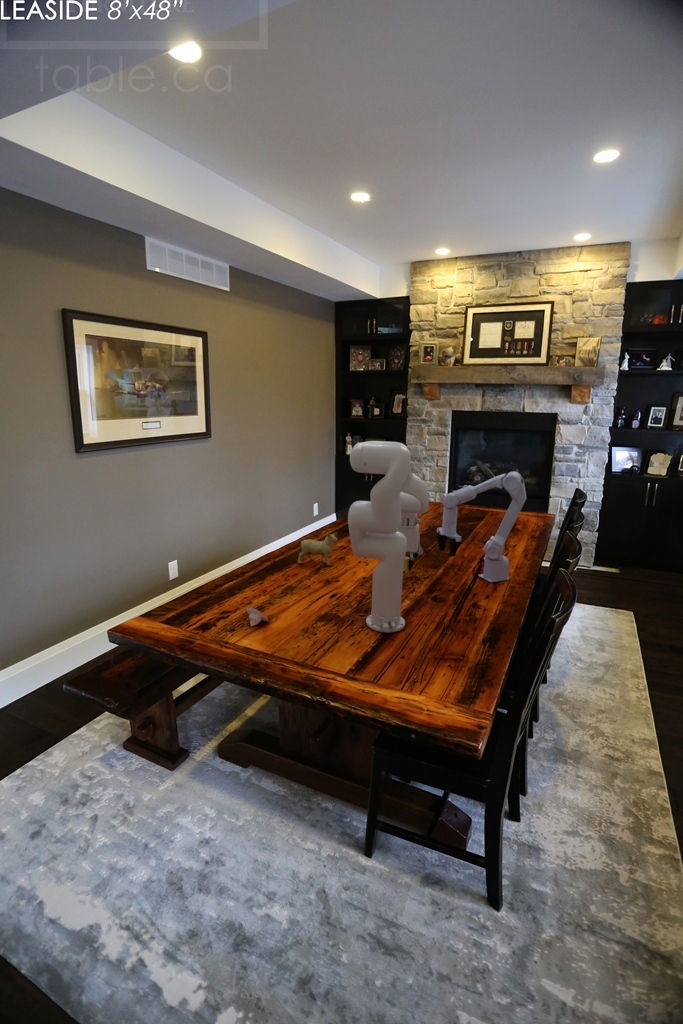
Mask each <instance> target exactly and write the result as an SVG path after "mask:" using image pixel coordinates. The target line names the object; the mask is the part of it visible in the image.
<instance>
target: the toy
mask: <svg viewBox="0 0 683 1024" xmlns="http://www.w3.org/2000/svg"><path fill="white" fill-rule="evenodd" d="M337 535H338V532H333V533H332V534H330V533H327V534H326V536H325V539H324V540H320V541H319V540H315V539H311V538H309V539H308V538H307V539H304V540H301V542H300V548H301V551H300V552H299V554H298V559H297V564H298V565H302V563H303V562H302V558H303V557H304V556H306V557H307V558H308V559H309V560H310V562H314V558H313V556H312V555H314V556H315V555H316V556H318V555H321V558H320V563H325V561H326V565H327V566H328V567H332V564H331V563H330V561H329V556H330V555H331V553H332V552H333V550H334V545H335V544H334V542H335V543H337V542H338V541H339V538H337V537H336V536H337ZM311 554H312V555H311Z"/></svg>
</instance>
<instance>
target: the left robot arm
mask: <svg viewBox="0 0 683 1024" xmlns="http://www.w3.org/2000/svg"><path fill="white" fill-rule="evenodd" d="M411 462H412V455H411V452H410V450H409V448H408V447H407V446H406V444H404V443H402V442H399V441H398V442H397V441H384V440H383V441H382V440H368V441H362V442H357V443H356V444H355V445H354V446H353V447H352V449H350V454H349V464H350V466H351V469H352V470H353V471H354V472H356V473H362V474H372V475H373V474H375V475H385V476H384V477H382V478H381V479H380V480H378V481H377V483H375V484H374V485H373V487H372V489H371V490H370V493H369V494H370V495H369V497H370V500H356V501H354V502H353V503H352V504H351V505H350V506H349V509H348V514H347V524H348V525H347V526H348V533H349V539H350V547H351V550H352V553H353V555H354V556H356V557H359V558H365V559H373V560H379V561H380V562H379V563H378V564H377V565H376V566H375V568H374V569H373V571H372V585H371V586H372V587H371V607H370V609H371V613H370V615H368V616H367V617H366V621H365V622H366V623H365V624H366V625H367V627H368V628H369V629H372V630H373V631H376V632H379V633H396V632H398V631H402V630H403V629H404V628H405V626H406V620H405V618H403V617H402V615H401V614H402V599H403V598H402V597H403V580H404V579H403V577H404V571H403V566H404V559H405V556H406V553H409V558H410V559H409V568H408V571H411V570H412V568H414V560H415V559H416V558H417V557H419V556H421V555H423V554H424V552H425V551H424V549H423V547H422V546H421V544H420V543H421V540H420V539H421V538H420V534H421V533H420V525H419V524H421V523H422V519H420V518H418V515H423V514H425V513H426V512H427V511H428V509H429V506H430V505H429V503H430V499H429V498H430V497H429V490H428V486H427V484H426V483H425V482H424V481H423V479H421V478H420V477H419V476H418V475H416V474H415V473H413V471H412V463H411Z"/></svg>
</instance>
